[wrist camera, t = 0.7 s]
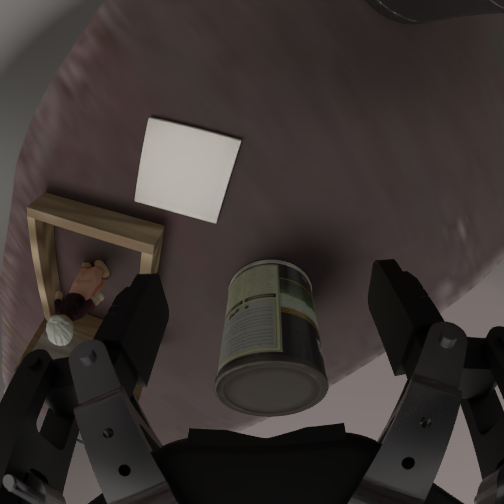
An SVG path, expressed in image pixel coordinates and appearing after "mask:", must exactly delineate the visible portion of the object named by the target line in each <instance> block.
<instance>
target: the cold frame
mask: <svg viewBox="0 0 504 504" xmlns="http://www.w3.org/2000/svg"><path fill="white" fill-rule="evenodd" d="M27 217H28V227H29V235H30V243H31V250H32V256H33V262H34V268H35V274H36V279H37V284H38V288H39V293H40V297H41V302H42V306H43V310H44V314H45V319H44V320H43V322H42V323H41V325H40V327H39V328H38V330H37V332H36V333H35V335H34V337H33V338H32V340H31V342H30V343H29V345H28V347H27V349H26V350H25V352H24V354H23V356H22V357H21V359H20V361H19V363H18V365H17V367H16V369H15V370H14V371H15V372H16V370H17V368H18V367H19V365H20V363H21V361H22V360H23V358H24V357H25V356H26V355H27V354H28V353H30V352H31V351H33V350H36V349H44V350H46V351H47V352H48V353H49V354H50V356H51V357H52V359H58V358H64V357H69V356H70V354H71V352H72V350H73V349H74V348H75V347H76V346H77V345H79V344H80V343H82V342H84V341H87V340H93V338H94V336H95V334H96V332H97V330H98V328H99V327H100V325H101V323H102V321H103V319H100V318H97V317H95V316H92V315H89V314H87V315H85V316H84V317H83V318H81V319H79V320H75V321H72V323H73V327H74V328H73V337H72V339H71V341H70V342H69V343H68V344H66V345H65V346H64V345H63V346H58V345H55V344H53V343H52V342H50V340H49V339H48V335H47V332H46V327H47V326H46V324H47V322H48V321H49V318H50V317H51V316H53V315H56V313H55V309H54V301H55V297H56V296H55V294H56V292H57V291H61V289H60V282H59V275H58V268H57V259H56V249H55V238H54V225H55V226H59V227H62V228H65V229H68V230H71V231H74V232H77V233H81V234H84V235H87V236H90V237H93V238H97V239H100V240H103V241H106V242H110V243H113V244H116V245H120V246H123V247H126V248H130V249H133V250H136V251H140V252H142V256H141V265H140V274H147V273H157V274H158V267H159V260H160V254H161V247H162V241H163V235H164V230H165V226H164V225H160V224H156V223H153V222H149V221H146V220H142V219H139V218H135V217H131V216H128V215H124V214H121V213H117V212H114V211H110V210H106V209H103V208H99V207H96V206H92V205H89V204H85V203H81V202H78V201H74V200H71V199H67V198H63V197H60V196H56V195H53V194H49V193H46V192H45V193H44V194H43V195H41V196H40V197H39V198H37V199H36V200H35V201H34V202H32V203H31V204H30V205H29V206H27ZM142 388H143V386H135V388H134V391H133V394H134V395H135V397H136V399H137V401H138V402H139V398H140V395H141V391H142Z"/></svg>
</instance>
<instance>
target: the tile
mask: <svg viewBox="0 0 504 504" xmlns="http://www.w3.org/2000/svg"><path fill="white" fill-rule="evenodd" d="M240 143H241V139H237V138H234V137H230V136H227V135H223V134H219V133H216V132H212V131H208V130H204V129H201V128H197V127H193V126H189V125H184V124H180V123H176V122H172V121H167V120H163V119H158V118H153V117H150V118H149V119H148V124H147V129H146V134H145V139H144V144H143V150H142V155H141V161H140V167H139V173H138V180H137V187H136V194H135V201H136V202H139V203H143V204H147V205H150V206H154V207H158V208H161V209H165V210H169V211H172V212H176V213H179V214H183V215H187V216H190V217H194V218H197V219H201V220H204V221H208V222H212V223H215V224H216V222H217V219H218V215H219V212H220V208H221V205H222V202H223V198H224V195H225V192H226V188H227V185H228V182H229V178H230V175H231V172H232V169H233V165H234V162H235V159H236V156H237V153H238V150H239V147H240Z"/></svg>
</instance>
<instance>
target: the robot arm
mask: <svg viewBox="0 0 504 504" xmlns="http://www.w3.org/2000/svg"><path fill="white" fill-rule="evenodd" d="M367 2H368V3H369V4H370V5H371V6H372V7H374V8H375V9H376V10H377V11H378V12H380V13H382V14H383V15H385V16H386V17H388V18H390V19H393V20H395V21H398V22H402V23H405V24H418V23H424V22H429V21H435V20H442V19H448V18H455V17H462V16H470V15H480V14H493V13H504V0H367ZM368 305H369V310H370V312H371V315H372V317H373V320H374V322H375V325H376V327H377V330H378V332H379V335H380V337H381V340H382V343H383V345H384V348H385V350H386V353H387V356H388V359H389V361H390V364H391V367H392V370H393V372H394V375H395V376H397V375H403V374H406V376H407V379H408V380H407V382H406V384H405V386H404V389H403V391H402V393H401V396H400V398H399V400H398V402H397V404H396V407H395V408H394V411H393V413H392V415H391V417H390V419H389V421H388V423H387V425H386V427H385V428H384V430H383V432H382V434H381V436H380V437H379V439H378V441H375V440H373V439H371V438H368V437H366V436H362V435H358V434H354V433H346V432H345V426H344V423H340V424H333V425H324V426H315V427H306V428H303V429H299V430H296V431H292V432H289V433H286V434H282V435H279V436H275V437H271V438H260V437H255V436H250V435H245V434H241V433H237V432H232V431H228V430H210V429H192V428H189V434H188V438H185V439H181V440H177V441H174V442H171V443H168V444H166V445H164V446H163V445H162V444H161V442H160V441H159V439H158V438H157V436H156V435H155V433H154V431H153V430H152V428H151V426H150V424H149V422H148V420H147V418H146V417H145V415H144V413H143V411H142V409H141V407H140V405H139V403H138V401H137V399H136V397H135V395H134V394H133V391H134V388H135V386H143V387H147V384H148V381H149V378H150V375H151V371H152V368H153V365H154V362H155V359H156V356H157V352H158V349H159V346H160V343H161V340H162V337H163V334H164V331H165V328H166V325H167V322H168V319H169V308H168V304H167V300H166V297H165V294H164V291H163V287H162V284H161V281H160V278H159V275H158V274H157V273H147V274H137V275H136V277H135V279H134V280H133V282H132V284H131V286H130V287H126V288H125V289H124V290H123V291H121V292H120V293H119V294H118V295H117V296H116V298H115V300H114V302H113V303H112V306H111V307H110V309H109V310H108V314H106V316H105V317H104V319H103V321H102V323H101V325H100V327H99V328H98V330H97V332H96V334H95V336H94V338H93V340H87V341H84V342H82V343H80V344H79V345H77V346H76V347H75V348H74V349H73V350H72V352H71V354H70V356H69V357H64V358H58V359H52V357H51V356H50V354H49V353H48V352H47V351H46V350H44V349H36V350H33V351H31V352H30V353H28V354H27V355H26V356H25V357H24V358H23V360H22V361H21V363H20V365H19V367H18V368H17V370H16V372H15V374H14V376H13V378H12V380H11V382H10V384H9V386H8V388H7V390H6V392H5V394H4V396H3V398H2V400H1V402H0V504H66V501H65V499H64V497H63V490H64V485H65V482H66V477H67V473H68V469H69V466H70V462H71V458H72V454H73V451H74V447H75V444H76V440H77V437H78V434H79V431H80V434H81V437H82V441H83V444H84V447H85V449H86V452H87V455H88V458H89V461H90V463H91V466H92V469H93V471H94V474H95V476H96V479H97V481H98V483H99V486H100V488H101V491H102V494H100V495H99V496H98V497H96V498H95V499H94V500H92V501H91V502H90V503H88V504H464V503H462V502H461V501H459V500H458V499H456V498H455V497H453V496H452V495H450V494H449V493H447V492H446V491H444V490H443V489H442V488H440V487H439V486H437V485H436V484H435V483H433V481H434V479H435V477H436V474H437V472H438V469H439V467H440V465H441V462H442V459H443V457H444V454H445V451H446V449H447V446H448V443H449V440H450V437H451V434H452V431H453V428H454V424H455V421H456V417H457V414H458V410H459V407H460V404H461V407H462V410H463V413H464V415H465V419H466V422H467V425H468V428H469V431H470V435H471V438H472V441H473V445H474V448H475V452H476V455H477V459H478V463H479V467H480V471H481V476H482V480H483V481H482V482H481V484H480V486H479V488H478V492H477V495H476V497H475V499H474V503H475V504H504V411H503V409H502V406H501V403H500V401H499V398H498V396H497V393H496V391H495V389H494V388H495V387H496V386H497V385H498V387H499V389H500V392H501V394H502V396H503V399H504V327H501V326H497V327H493V328H492V329H491V330H490V331H489V333H488V335H487V337H486V338H474V337H467V336H466V334H465V332H464V331H463V330H462V329H461V328H460V327H458V326H457V325H455V324H453V323H450V322H445V321H444V320H443V318H442V316H441V315H440V313H439V311H438V310H437V308H436V307H435V305H434V303H433V302H432V300H431V299H430V297H428V294H427V293H426V291H425V290H424V289H423V287H422V285H421V284H420V282H419V281H418V279H417V278H416V277H414V276H413V275H412V274H410V273H409V272H408V271H404V272H403V271H402V270H401V268H400V267H399V265H398V264H397V262H396V261H395V260H394V259H389V260H376V261H374V263H373V267H372V274H371V280H370V286H369V292H368ZM44 402H45V403H46V404H47V405H48V406H49V409H48V411H47V414H46V417H45V419H44V422H43V425H42V427H41V430H40V433H39V432H38V430H37V426H36V422H37V418H38V416H39V413H40V411H41V408H42V406H43V403H44Z"/></svg>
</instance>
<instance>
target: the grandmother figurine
mask: <svg viewBox="0 0 504 504" xmlns="http://www.w3.org/2000/svg"><path fill="white" fill-rule="evenodd" d="M94 266H95V267H92V265H91V264H90V263H89V262H83V263H82V269H81V270H80V271H79V273H78V275H77V276H76V278H75V279H74V281H73V284H72V287H71V289H70V292H69V294H67V295H66V296H65V298H64V299H63V300H62V297H63V294H62V292H61V291H57V292H56V294H55V296H56V297H55V301H54V309H55V313H56V315H53V316H51V317H50V318H49V321H48V322H47V324H46V326H47V327H46V332H47V335H48V339H49V340H50V342H52V343H53V344H55V345H58V346H63V345H64V346H65V345H66V344H68V343H69V342H70V341H71V339H72V337H73V328H74V327H73V323H72V321H75V320H79V319H81V318H83V317H84V316H85V315H87V314H88V313H89V312H90V311H92V310H93V309H94V308H95V307H96V306H97V305H98V304H99V303H100V301H102V300H104V298H105V296H104V294H103V293H102V292H99V291H100V290H101V288H102V287H103V285H104V284H105V282H104V281H103V280H102V279H103V278H107V277H108V276H109V275H110V271H109V269H108V268H107V266H106V265H105V263H104V262H103V261H101V260H96V261H95V262H94Z"/></svg>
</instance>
